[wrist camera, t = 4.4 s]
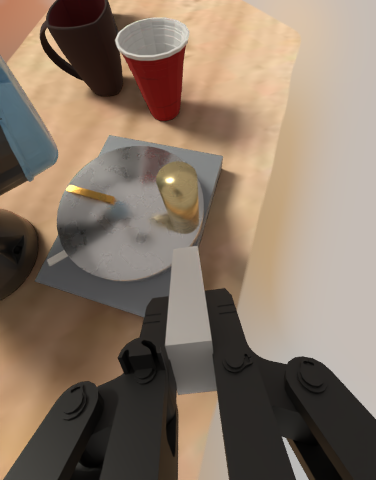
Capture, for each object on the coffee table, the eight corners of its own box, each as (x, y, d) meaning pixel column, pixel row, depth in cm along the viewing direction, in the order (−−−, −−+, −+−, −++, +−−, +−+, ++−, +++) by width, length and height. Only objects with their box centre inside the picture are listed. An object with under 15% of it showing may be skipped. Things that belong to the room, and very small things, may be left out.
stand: (176, 325, 28) (172, 327, 25) (49, 283, 31) (32, 280, 28) (221, 168, 35) (223, 154, 32) (116, 148, 38) (108, 133, 35)
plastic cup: (199, 93, 41) (198, 12, 30) (184, 135, 38) (175, 61, 27) (149, 86, 43) (130, 7, 32) (130, 125, 40) (102, 52, 29)
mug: (128, 102, 42) (100, 26, 31) (64, 104, 43) (14, 32, 32) (134, 69, 45) (112, -11, 34) (75, 72, 46) (33, -5, 35)
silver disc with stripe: (41, 220, 31) (-46, 171, 20) (138, 137, 35) (108, 59, 24) (130, 316, 25) (76, 321, 15) (232, 205, 29) (249, 145, 18)
